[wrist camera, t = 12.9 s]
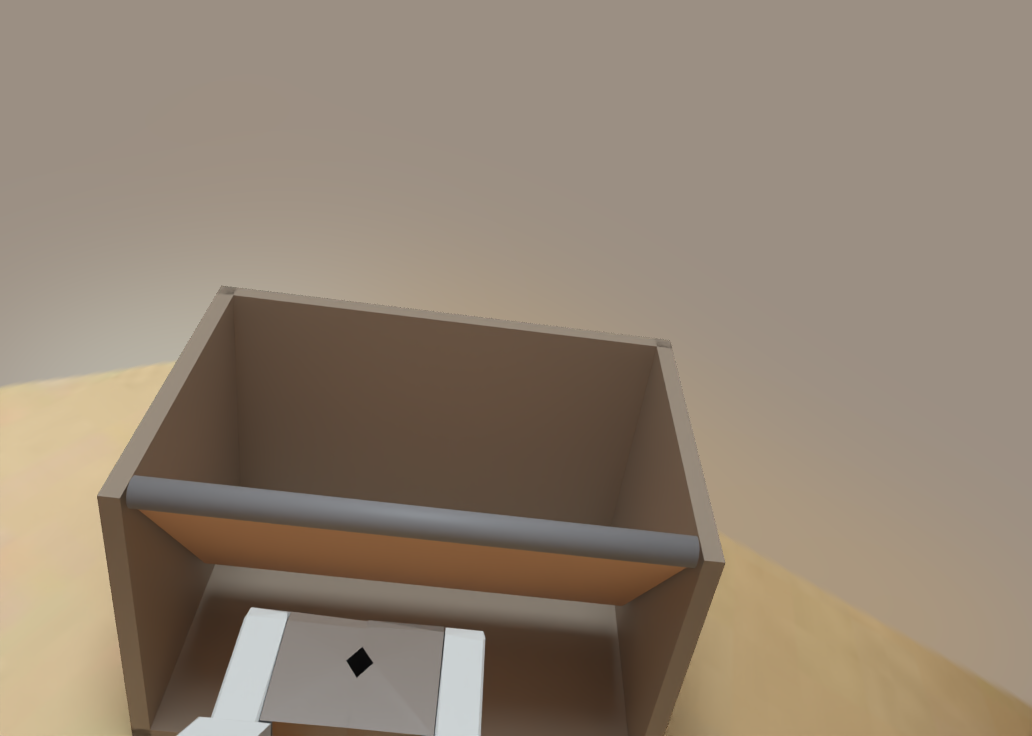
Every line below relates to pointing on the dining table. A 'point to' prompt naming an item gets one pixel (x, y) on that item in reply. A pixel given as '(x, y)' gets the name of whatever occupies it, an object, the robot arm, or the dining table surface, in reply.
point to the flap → (411, 542)
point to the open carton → (418, 497)
